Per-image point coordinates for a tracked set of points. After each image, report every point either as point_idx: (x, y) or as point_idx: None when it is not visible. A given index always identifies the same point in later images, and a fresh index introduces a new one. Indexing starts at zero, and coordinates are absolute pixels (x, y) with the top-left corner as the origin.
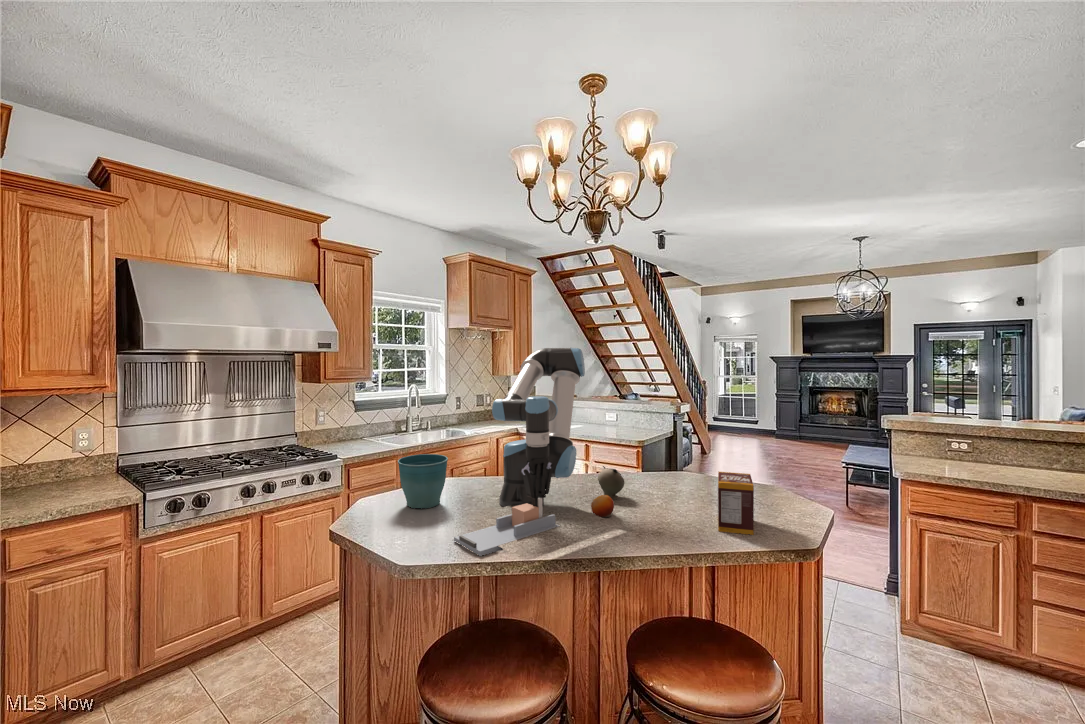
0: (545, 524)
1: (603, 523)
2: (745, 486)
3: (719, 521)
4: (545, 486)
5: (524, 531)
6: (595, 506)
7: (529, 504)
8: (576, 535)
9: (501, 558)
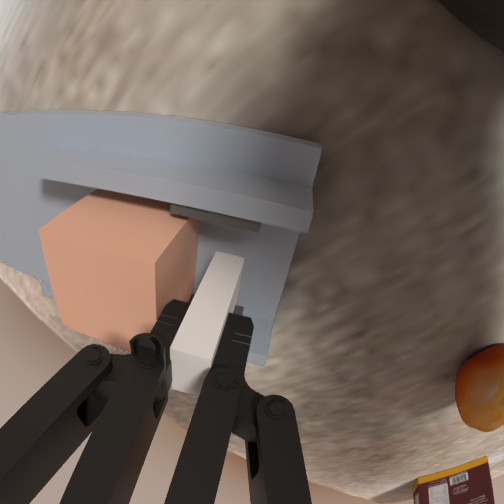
0: None
1: (409, 393)
2: None
3: (418, 491)
4: (289, 459)
5: None
6: (464, 396)
7: (151, 294)
8: (264, 383)
9: (19, 289)
